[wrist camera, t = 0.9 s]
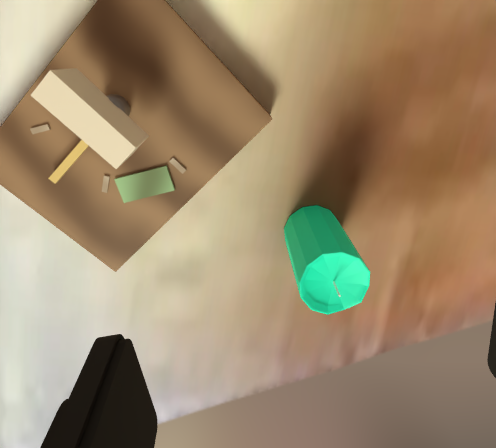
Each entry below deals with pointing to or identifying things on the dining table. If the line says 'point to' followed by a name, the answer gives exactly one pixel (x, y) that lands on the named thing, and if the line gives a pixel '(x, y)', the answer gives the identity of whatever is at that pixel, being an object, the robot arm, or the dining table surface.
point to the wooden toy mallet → (89, 118)
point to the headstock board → (144, 115)
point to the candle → (324, 261)
